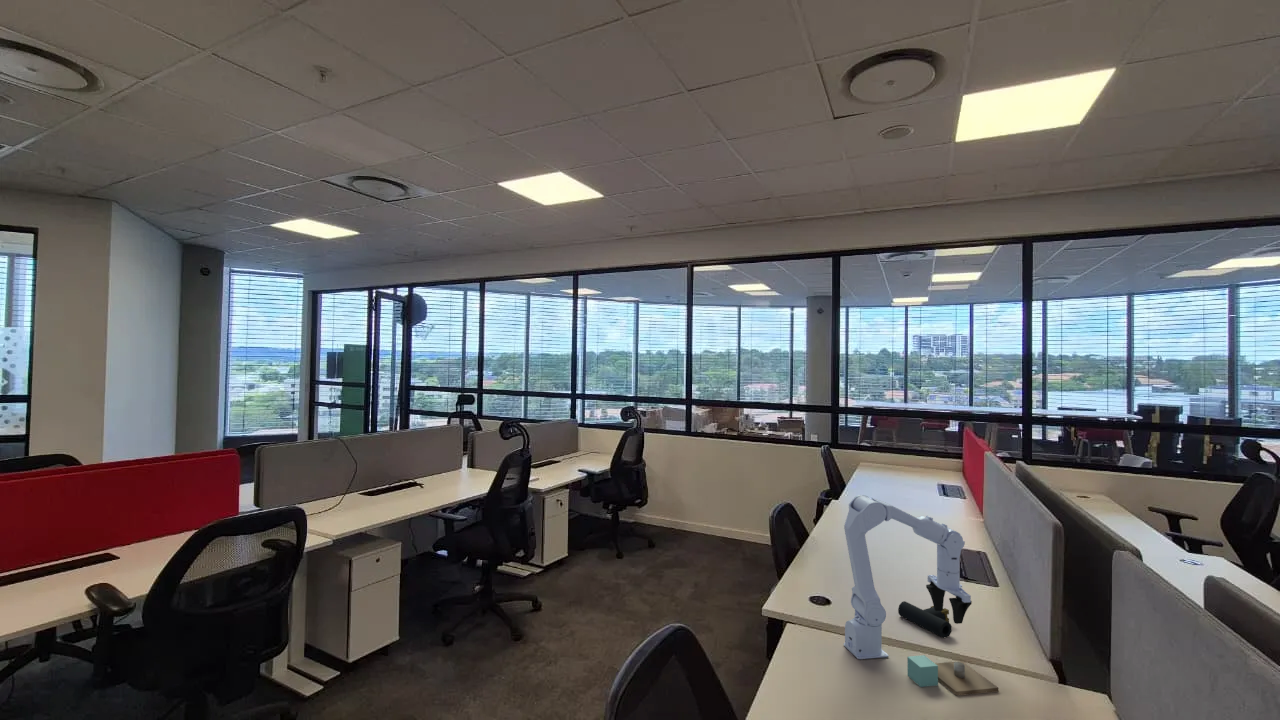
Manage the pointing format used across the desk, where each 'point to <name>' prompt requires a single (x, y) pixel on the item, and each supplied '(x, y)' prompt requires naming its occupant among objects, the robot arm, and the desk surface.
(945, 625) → the pipe connector
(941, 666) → the base plate
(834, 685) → the desk surface
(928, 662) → the teal cube
